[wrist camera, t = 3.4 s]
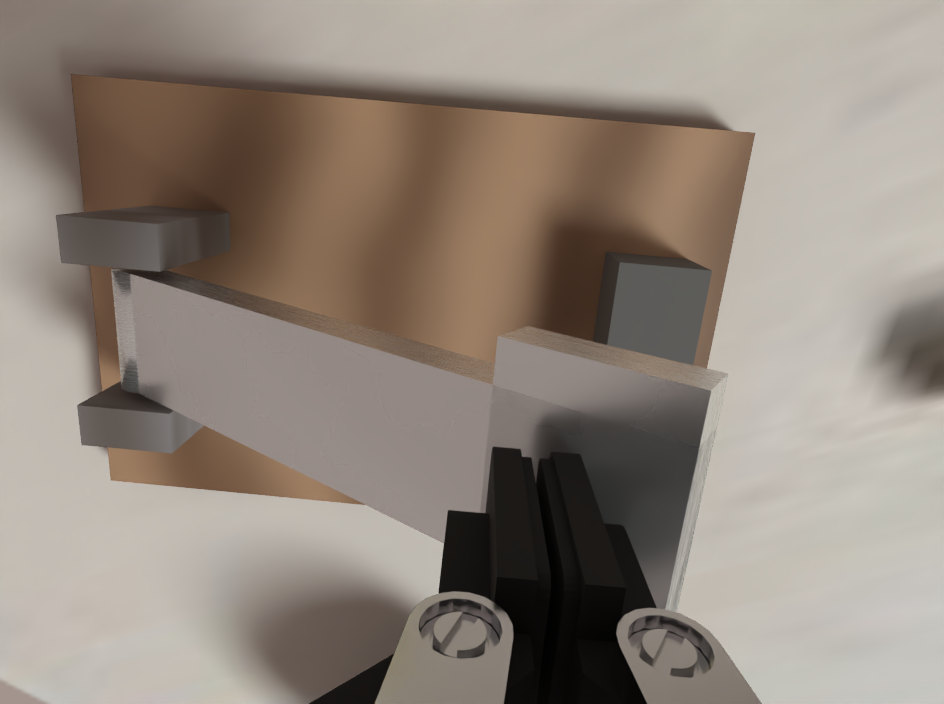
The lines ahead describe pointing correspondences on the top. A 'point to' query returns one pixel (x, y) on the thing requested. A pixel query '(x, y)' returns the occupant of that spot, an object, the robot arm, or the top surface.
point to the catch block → (652, 305)
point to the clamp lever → (428, 409)
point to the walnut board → (371, 230)
